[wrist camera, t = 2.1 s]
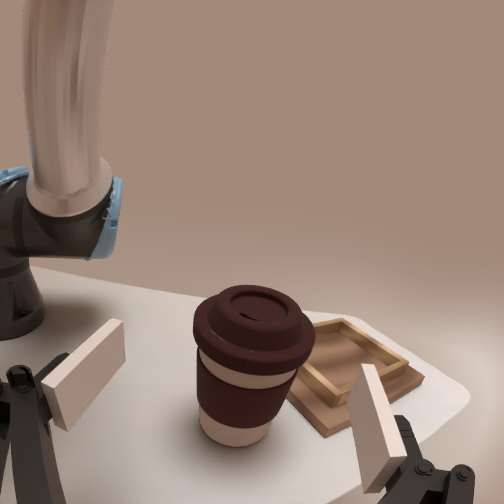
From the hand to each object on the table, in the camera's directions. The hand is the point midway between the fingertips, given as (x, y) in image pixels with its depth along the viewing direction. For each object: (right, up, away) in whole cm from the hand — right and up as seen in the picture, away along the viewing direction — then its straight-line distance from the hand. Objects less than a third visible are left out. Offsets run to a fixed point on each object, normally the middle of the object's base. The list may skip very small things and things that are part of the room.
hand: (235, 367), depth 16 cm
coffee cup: (-1, -12, +14) cm, 18 cm away
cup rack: (+13, -11, +26) cm, 31 cm away
